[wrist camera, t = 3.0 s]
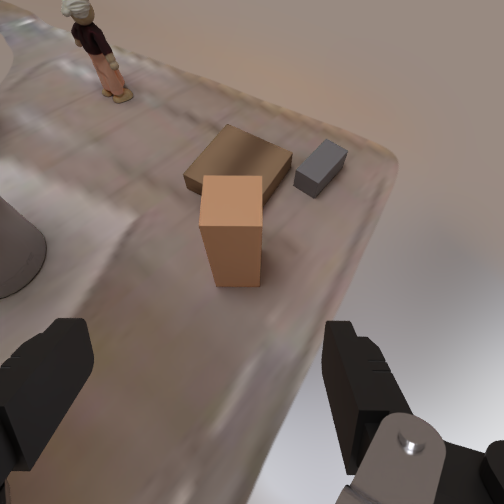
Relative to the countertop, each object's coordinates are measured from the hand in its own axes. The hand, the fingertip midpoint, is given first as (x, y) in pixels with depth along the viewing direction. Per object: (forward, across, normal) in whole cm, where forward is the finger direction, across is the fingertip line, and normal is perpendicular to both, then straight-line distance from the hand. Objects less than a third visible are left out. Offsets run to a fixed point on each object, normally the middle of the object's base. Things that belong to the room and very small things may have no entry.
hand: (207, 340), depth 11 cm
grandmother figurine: (+43, -18, +9) cm, 47 cm away
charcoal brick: (+32, +9, 0) cm, 33 cm away
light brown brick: (+22, 0, -8) cm, 24 cm away
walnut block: (+31, 0, -1) cm, 31 cm away
